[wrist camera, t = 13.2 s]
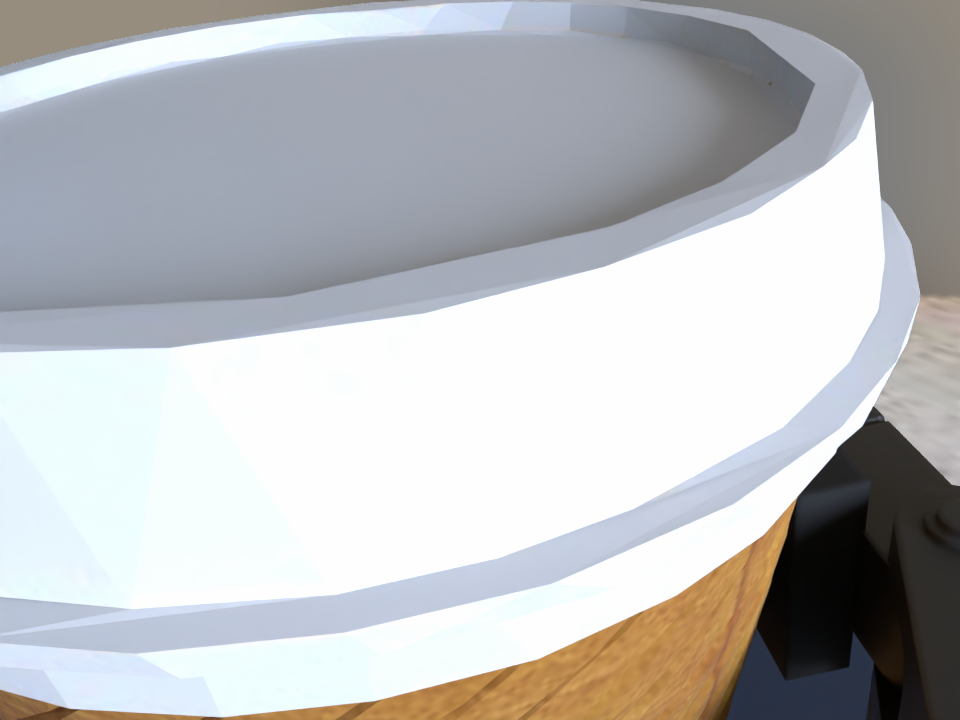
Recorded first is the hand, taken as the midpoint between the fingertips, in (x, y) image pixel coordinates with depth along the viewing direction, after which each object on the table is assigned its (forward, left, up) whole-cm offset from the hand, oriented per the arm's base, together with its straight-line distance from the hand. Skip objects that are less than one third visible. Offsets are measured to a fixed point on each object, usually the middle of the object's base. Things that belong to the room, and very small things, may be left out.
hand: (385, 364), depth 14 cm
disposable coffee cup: (+1, -5, -7) cm, 8 cm away
